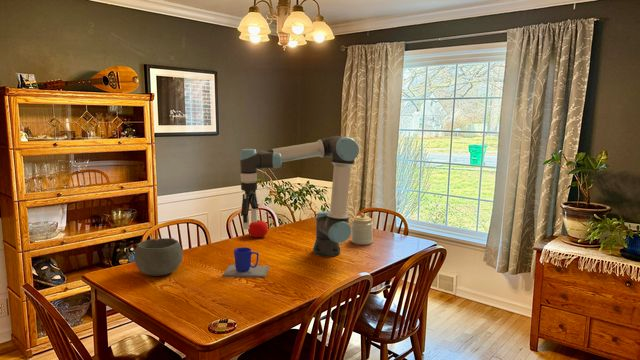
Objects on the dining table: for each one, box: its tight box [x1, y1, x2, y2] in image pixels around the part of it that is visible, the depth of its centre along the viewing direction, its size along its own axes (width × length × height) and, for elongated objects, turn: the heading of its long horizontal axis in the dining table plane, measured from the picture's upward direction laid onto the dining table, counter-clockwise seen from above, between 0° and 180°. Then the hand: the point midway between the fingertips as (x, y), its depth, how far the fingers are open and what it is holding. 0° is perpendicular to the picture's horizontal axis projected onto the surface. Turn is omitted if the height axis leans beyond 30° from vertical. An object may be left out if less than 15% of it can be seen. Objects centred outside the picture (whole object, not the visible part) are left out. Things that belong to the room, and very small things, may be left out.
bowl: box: [134, 237, 183, 277], centre depth 203 cm, size 21×21×15 cm
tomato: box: [247, 219, 269, 239], centre depth 267 cm, size 11×12×10 cm
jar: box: [350, 212, 374, 246], centre depth 258 cm, size 13×13×18 cm
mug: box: [233, 246, 260, 272], centre depth 206 cm, size 8×12×10 cm
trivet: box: [221, 264, 270, 278], centre depth 207 cm, size 20×14×1 cm
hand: (250, 225), depth 206 cm, fingers open, 13 cm apart
